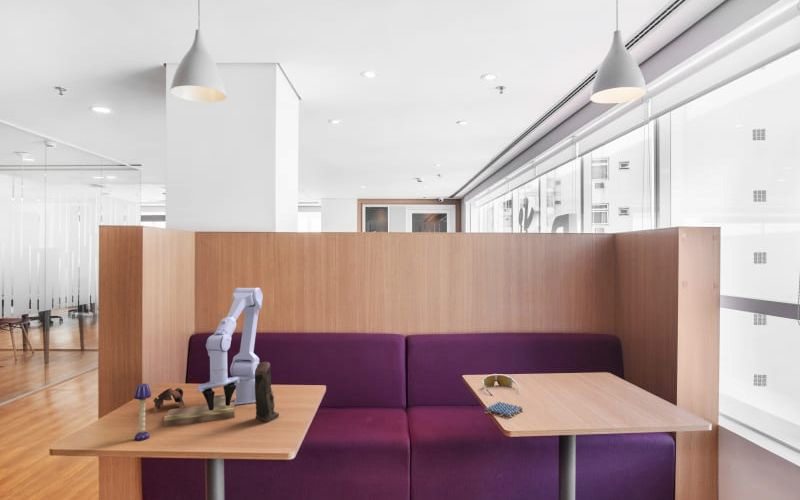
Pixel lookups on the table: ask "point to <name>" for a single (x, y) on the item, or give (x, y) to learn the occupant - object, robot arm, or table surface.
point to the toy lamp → (142, 410)
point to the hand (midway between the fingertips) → (219, 407)
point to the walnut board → (197, 414)
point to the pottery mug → (166, 396)
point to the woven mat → (503, 410)
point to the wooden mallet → (219, 402)
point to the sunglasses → (501, 379)
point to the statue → (264, 393)
